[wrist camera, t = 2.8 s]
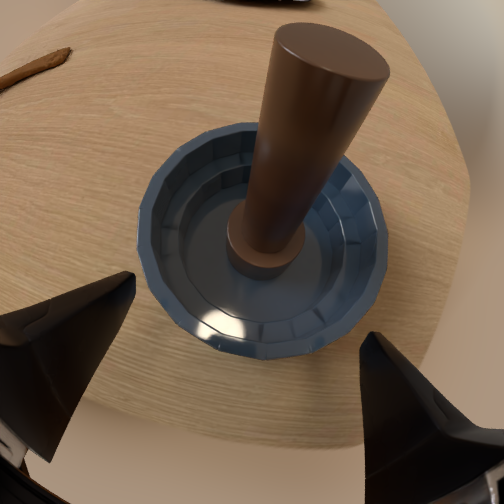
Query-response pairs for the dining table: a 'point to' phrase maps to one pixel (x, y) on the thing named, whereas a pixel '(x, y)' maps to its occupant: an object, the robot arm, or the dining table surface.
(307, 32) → the pestle
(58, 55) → the primitive tool
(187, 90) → the dining table surface
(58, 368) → the robot arm
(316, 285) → the bowl
